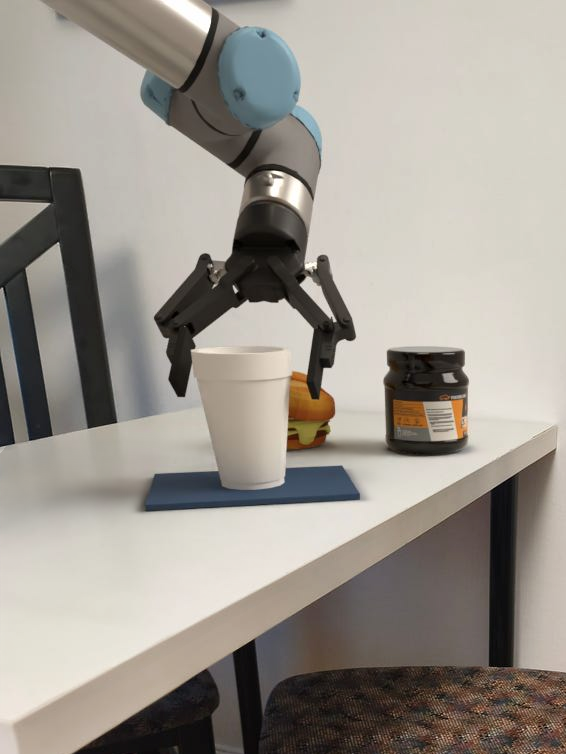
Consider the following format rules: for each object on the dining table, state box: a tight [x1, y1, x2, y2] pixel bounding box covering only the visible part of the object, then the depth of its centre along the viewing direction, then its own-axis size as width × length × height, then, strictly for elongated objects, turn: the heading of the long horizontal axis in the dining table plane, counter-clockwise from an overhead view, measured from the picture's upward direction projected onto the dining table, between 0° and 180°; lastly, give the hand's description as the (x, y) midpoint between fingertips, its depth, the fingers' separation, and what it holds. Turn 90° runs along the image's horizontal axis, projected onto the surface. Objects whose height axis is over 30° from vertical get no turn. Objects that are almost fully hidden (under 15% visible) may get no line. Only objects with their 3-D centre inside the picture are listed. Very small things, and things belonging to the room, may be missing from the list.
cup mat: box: [144, 464, 361, 512], centre depth 91 cm, size 20×14×1 cm
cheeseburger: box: [286, 370, 336, 451], centre depth 112 cm, size 10×11×10 cm
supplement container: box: [382, 345, 470, 456], centre depth 110 cm, size 10×10×12 cm
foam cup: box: [191, 345, 293, 490], centre depth 89 cm, size 10×9×13 cm
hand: (244, 390), depth 88 cm, fingers open, 13 cm apart
